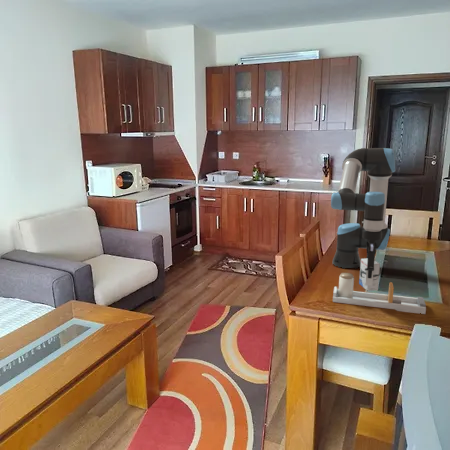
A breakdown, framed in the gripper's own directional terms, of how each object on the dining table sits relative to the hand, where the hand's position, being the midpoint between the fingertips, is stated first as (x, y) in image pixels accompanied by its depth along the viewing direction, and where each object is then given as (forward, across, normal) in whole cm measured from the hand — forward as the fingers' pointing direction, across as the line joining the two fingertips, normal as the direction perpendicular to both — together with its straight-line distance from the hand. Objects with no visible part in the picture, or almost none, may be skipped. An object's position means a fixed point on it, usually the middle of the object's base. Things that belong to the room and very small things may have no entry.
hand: (368, 280), depth 168 cm
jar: (+9, 0, -9) cm, 13 cm away
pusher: (+9, 0, +11) cm, 14 cm away
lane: (+10, 0, +4) cm, 11 cm away
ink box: (+3, 0, 0) cm, 3 cm away
